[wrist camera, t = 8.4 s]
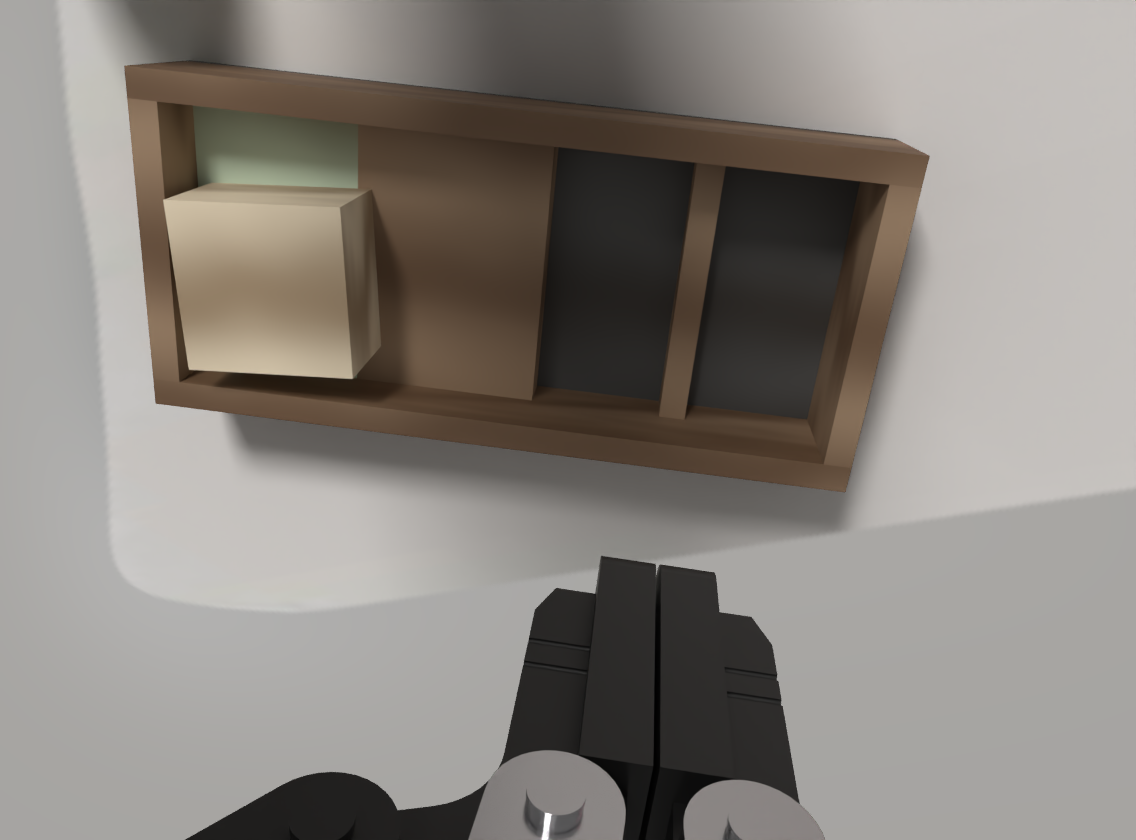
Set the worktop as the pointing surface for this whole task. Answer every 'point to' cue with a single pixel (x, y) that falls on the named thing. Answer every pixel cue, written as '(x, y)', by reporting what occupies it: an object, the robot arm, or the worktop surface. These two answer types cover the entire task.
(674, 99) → the worktop surface
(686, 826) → the robot arm
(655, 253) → the divided wooden tray
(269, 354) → the block
